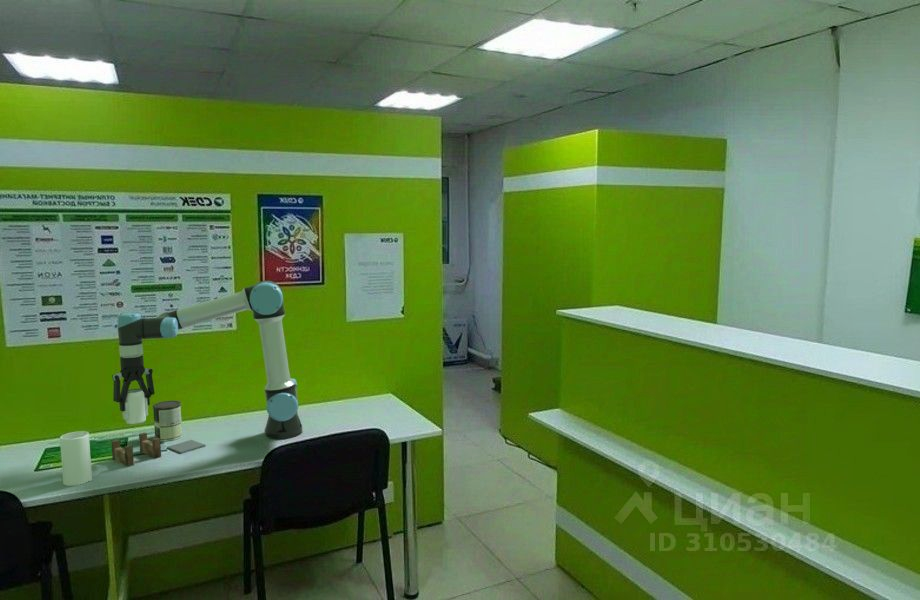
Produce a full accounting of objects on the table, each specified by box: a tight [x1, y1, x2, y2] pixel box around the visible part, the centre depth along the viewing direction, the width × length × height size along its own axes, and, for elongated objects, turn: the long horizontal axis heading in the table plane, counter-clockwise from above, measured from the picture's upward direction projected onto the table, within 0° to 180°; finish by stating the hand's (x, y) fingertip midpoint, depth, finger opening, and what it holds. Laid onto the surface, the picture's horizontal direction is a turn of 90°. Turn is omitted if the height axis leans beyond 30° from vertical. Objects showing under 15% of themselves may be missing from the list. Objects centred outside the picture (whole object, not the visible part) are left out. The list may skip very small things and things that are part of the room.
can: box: [125, 387, 147, 425], centre depth 222 cm, size 6×6×12 cm
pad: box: [166, 439, 206, 454], centre depth 235 cm, size 10×10×1 cm
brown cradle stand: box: [110, 432, 162, 467], centre depth 224 cm, size 12×12×7 cm
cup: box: [59, 430, 93, 487], centre depth 203 cm, size 8×8×16 cm
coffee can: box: [152, 400, 183, 442], centre depth 246 cm, size 10×10×14 cm
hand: (135, 416), depth 223 cm, fingers closed on can, 6 cm apart
